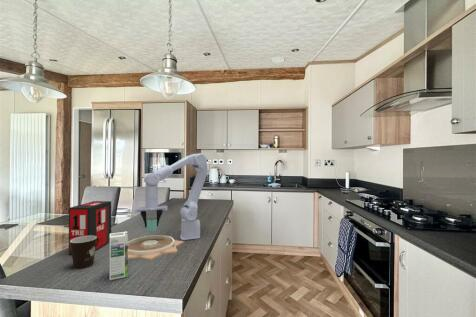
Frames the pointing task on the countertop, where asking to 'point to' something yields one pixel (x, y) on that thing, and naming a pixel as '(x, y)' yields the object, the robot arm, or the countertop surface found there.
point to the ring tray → (152, 246)
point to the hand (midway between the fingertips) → (151, 226)
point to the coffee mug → (83, 251)
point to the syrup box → (118, 255)
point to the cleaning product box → (91, 222)
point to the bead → (151, 224)
